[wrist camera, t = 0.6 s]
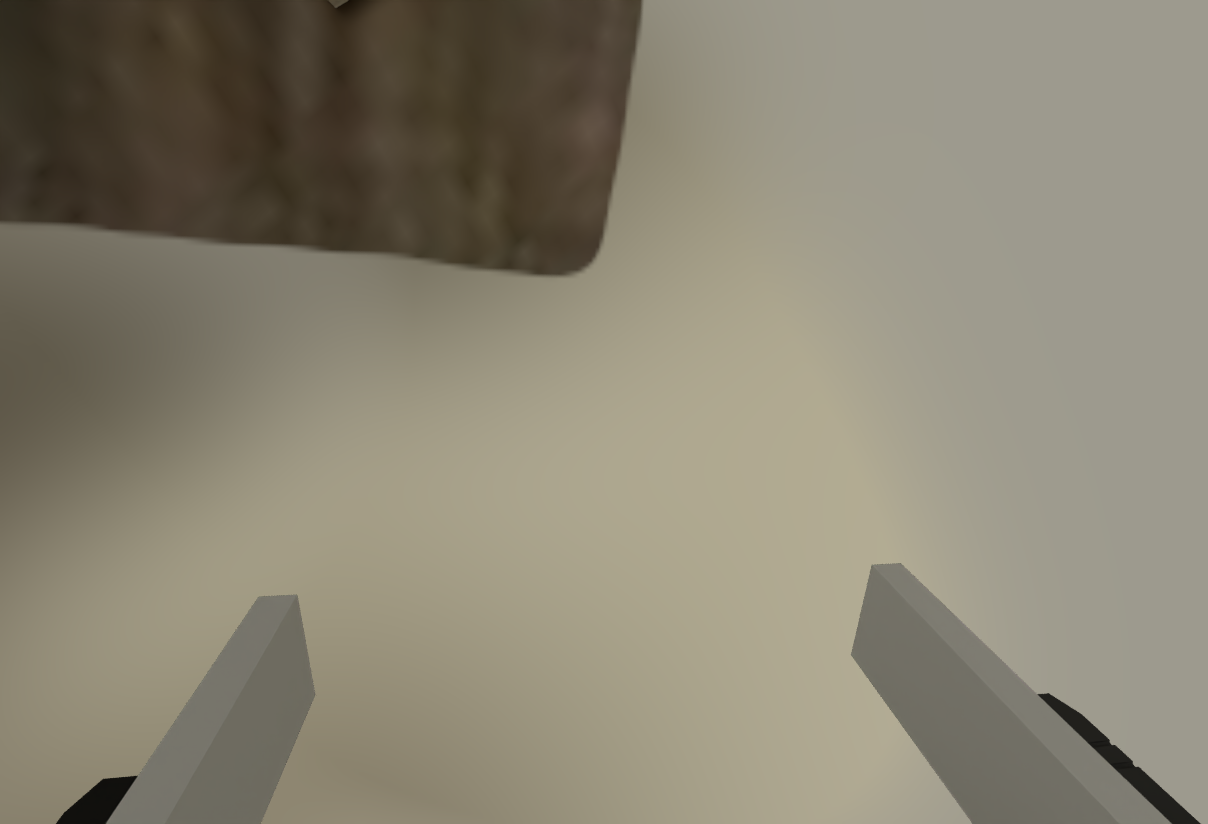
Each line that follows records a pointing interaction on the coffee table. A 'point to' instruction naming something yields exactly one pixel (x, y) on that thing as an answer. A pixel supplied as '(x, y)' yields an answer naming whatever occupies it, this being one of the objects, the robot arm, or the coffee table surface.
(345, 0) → the block
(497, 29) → the coffee table surface
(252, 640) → the robot arm
